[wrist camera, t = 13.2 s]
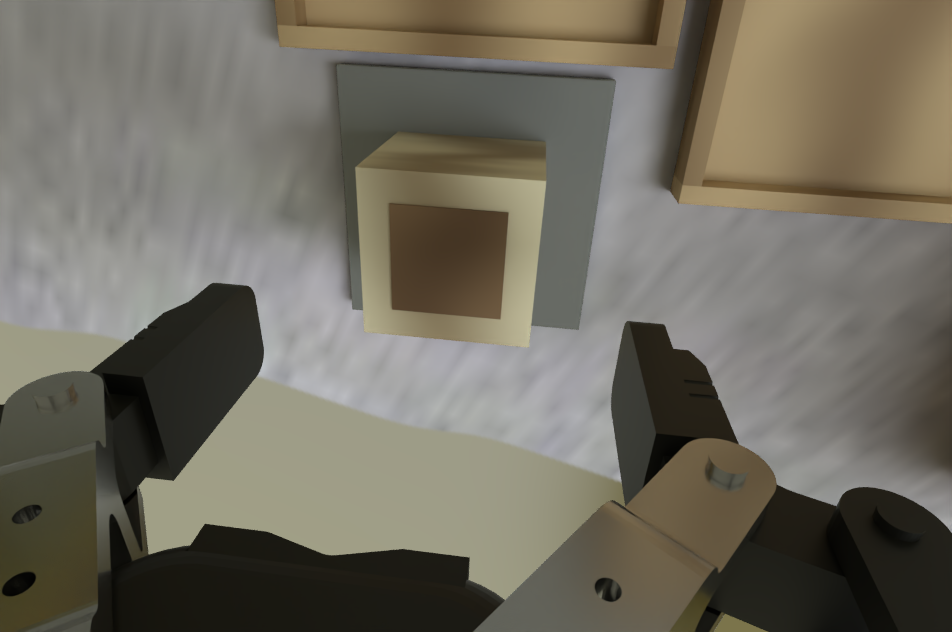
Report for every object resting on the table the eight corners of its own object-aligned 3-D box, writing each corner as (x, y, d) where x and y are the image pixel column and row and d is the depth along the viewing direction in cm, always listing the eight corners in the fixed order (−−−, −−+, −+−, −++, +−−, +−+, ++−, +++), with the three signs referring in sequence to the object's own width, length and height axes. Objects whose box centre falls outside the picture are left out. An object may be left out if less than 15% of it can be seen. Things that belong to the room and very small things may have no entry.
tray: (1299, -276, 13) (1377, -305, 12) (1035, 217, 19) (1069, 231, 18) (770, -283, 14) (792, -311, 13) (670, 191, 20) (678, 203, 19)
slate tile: (614, 79, 18) (615, 81, 18) (577, 322, 23) (578, 329, 22) (342, 63, 19) (336, 64, 18) (357, 302, 23) (352, 309, 23)
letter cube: (545, 141, 19) (546, 182, 14) (531, 280, 21) (528, 351, 17) (398, 131, 19) (354, 167, 15) (400, 268, 22) (363, 335, 17)
